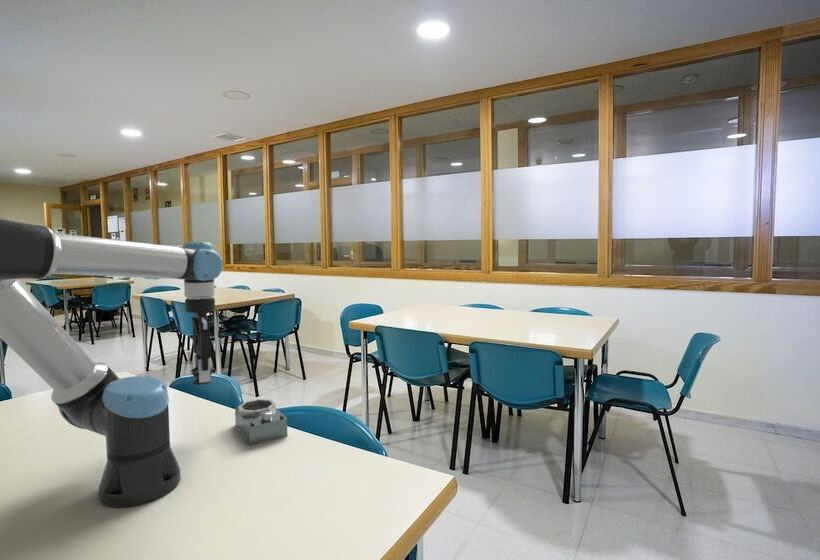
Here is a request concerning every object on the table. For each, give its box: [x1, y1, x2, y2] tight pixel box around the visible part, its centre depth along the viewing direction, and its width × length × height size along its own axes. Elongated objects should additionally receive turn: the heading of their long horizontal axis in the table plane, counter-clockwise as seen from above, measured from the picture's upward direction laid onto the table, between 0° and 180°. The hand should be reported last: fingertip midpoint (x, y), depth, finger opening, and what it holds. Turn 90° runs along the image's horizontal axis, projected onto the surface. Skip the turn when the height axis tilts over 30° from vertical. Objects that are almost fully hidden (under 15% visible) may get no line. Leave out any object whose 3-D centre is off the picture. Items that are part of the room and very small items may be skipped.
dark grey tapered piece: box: [190, 345, 215, 385], centre depth 123 cm, size 6×6×12 cm
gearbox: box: [234, 398, 288, 446], centre depth 124 cm, size 16×10×7 cm, turn 35°
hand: (202, 378), depth 123 cm, fingers closed on dark grey tapered piece, 6 cm apart
